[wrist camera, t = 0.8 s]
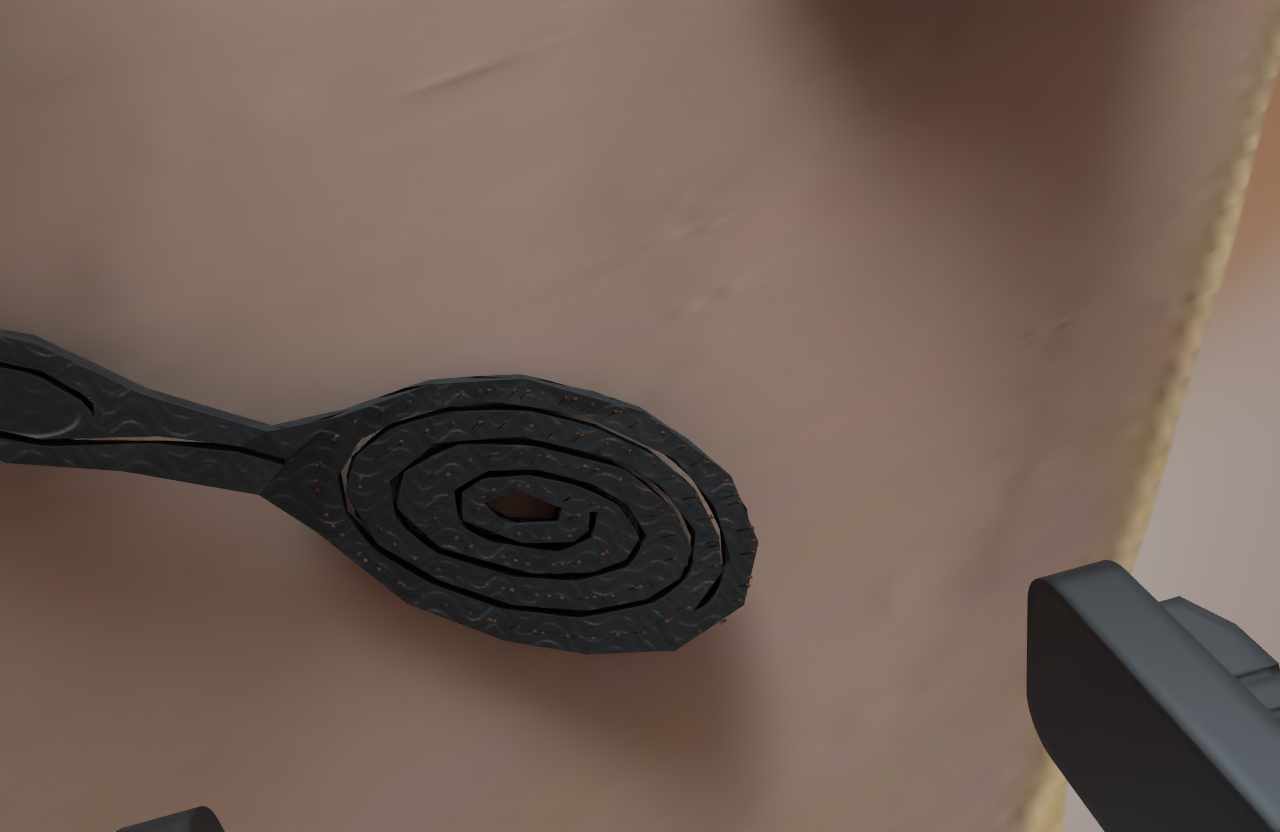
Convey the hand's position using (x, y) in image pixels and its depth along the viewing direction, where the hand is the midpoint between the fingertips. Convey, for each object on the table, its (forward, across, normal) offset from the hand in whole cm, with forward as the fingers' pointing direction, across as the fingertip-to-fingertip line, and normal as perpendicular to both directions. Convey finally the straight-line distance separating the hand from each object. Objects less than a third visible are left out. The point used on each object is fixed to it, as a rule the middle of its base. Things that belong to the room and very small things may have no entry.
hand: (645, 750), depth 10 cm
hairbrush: (+22, +6, +8) cm, 24 cm away
